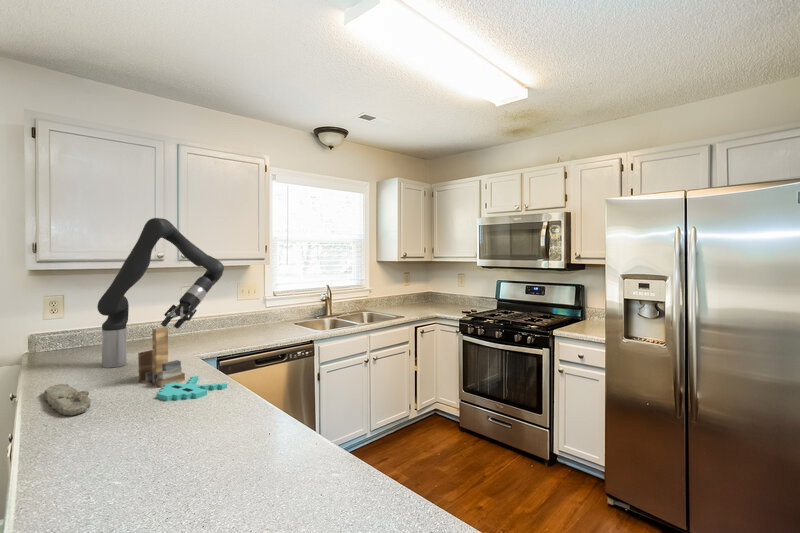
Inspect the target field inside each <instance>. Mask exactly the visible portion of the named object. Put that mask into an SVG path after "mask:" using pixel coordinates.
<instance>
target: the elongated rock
mask: <svg viewBox="0 0 800 533" xmlns="http://www.w3.org/2000/svg"><path fill="white" fill-rule="evenodd" d="M89 395H90V392H89V391H88V390H82V391H80V390H79V391H78V390H77V389H76V388H74V387H72V386H69V384H67V383H66V384H65V383H60V384H54V385H53V386H52V385H51V386H49V387H48V388H46V389H45V390H44V392H43V396H44V398H43V399H44V400H45V401H47V403H48V406H51V409H53V410H55V411H56V412H57V413H59V414H60V415H63V416H75V415H79V414H82V413H85V412H87V410H88V409H90V407H91V403H92V400H91V399H90V398H89Z"/></svg>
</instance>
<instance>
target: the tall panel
mask: <svg viewBox="0 0 800 533" xmlns="http://www.w3.org/2000/svg"><path fill="white" fill-rule="evenodd" d="M151 330H152V333H151V334H152V338H151V339H152V342H151V343H152V344H151V345H152V349H151V350H152V351H153V374H157V371H160V370H162V363H166V362H169V327H167V326H166V327H164V326H162V327H158V328H157V327H156V328H152V329H151Z"/></svg>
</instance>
